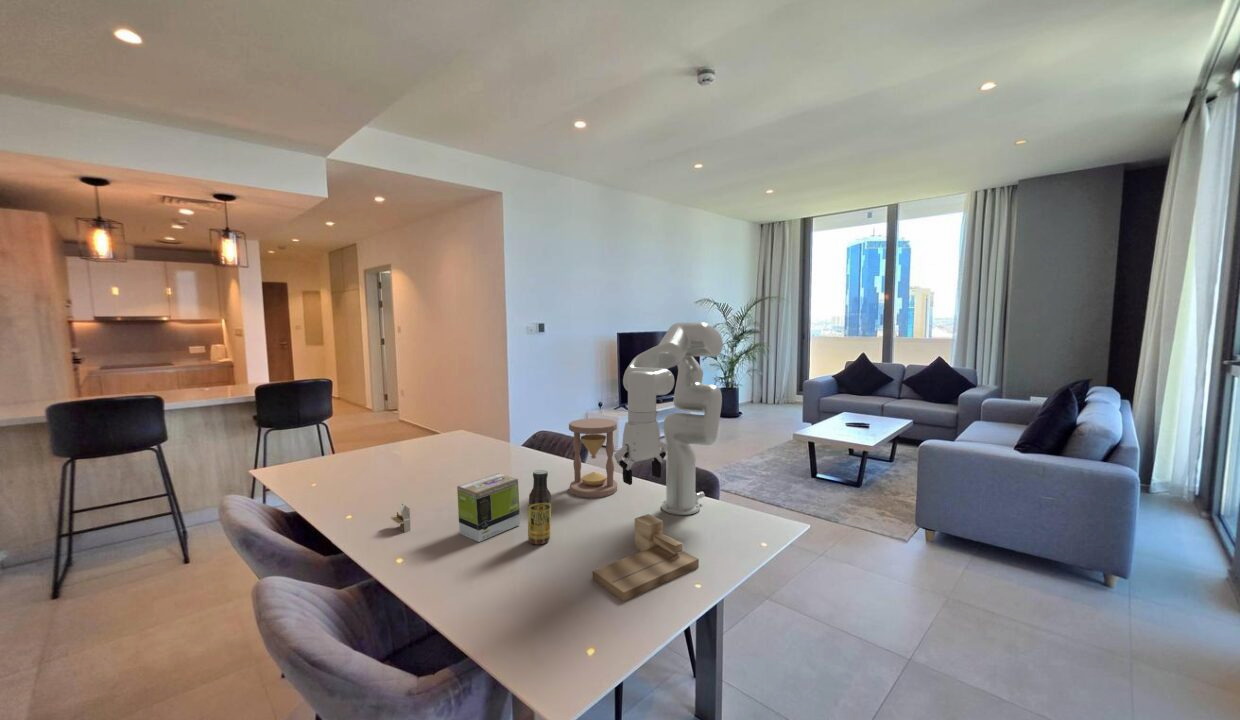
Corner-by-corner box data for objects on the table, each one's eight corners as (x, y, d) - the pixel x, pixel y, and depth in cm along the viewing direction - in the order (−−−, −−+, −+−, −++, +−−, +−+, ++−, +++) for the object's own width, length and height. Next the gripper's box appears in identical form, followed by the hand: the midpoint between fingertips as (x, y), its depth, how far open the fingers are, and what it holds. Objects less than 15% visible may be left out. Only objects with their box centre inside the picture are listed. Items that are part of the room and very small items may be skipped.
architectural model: (399, 535, 140) (398, 511, 139) (390, 528, 145) (389, 505, 144) (410, 532, 142) (409, 507, 142) (401, 525, 147) (400, 501, 147)
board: (665, 549, 129) (665, 541, 129) (698, 566, 120) (698, 558, 120) (592, 578, 115) (592, 570, 114) (623, 601, 105) (623, 592, 105)
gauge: (648, 541, 134) (648, 513, 133) (685, 561, 123) (685, 531, 122) (634, 546, 131) (634, 518, 130) (671, 567, 120) (671, 536, 119)
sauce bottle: (529, 547, 131) (527, 476, 130) (527, 537, 137) (525, 469, 136) (553, 544, 133) (551, 474, 131) (550, 534, 139) (548, 467, 137)
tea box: (500, 517, 152) (499, 472, 151) (520, 526, 145) (519, 478, 144) (458, 533, 140) (456, 484, 139) (478, 543, 134) (476, 491, 133)
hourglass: (626, 486, 179) (626, 421, 178) (600, 501, 165) (599, 430, 163) (588, 479, 189) (587, 416, 187) (560, 492, 174) (559, 424, 172)
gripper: (658, 411, 135) (658, 470, 137) (607, 418, 126) (607, 482, 127) (676, 415, 129) (675, 477, 131) (623, 423, 120) (624, 490, 121)
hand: (642, 479), depth 129 cm, fingers open, 9 cm apart
